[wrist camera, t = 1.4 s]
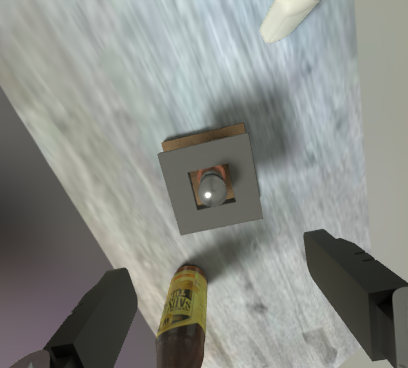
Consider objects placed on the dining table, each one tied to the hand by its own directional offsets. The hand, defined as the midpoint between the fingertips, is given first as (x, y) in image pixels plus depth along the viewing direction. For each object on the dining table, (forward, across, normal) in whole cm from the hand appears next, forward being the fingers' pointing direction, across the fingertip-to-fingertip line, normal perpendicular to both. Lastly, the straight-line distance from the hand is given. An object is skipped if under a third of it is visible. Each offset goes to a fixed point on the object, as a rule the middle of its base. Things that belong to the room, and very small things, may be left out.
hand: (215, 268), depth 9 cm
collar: (+16, 0, 0) cm, 16 cm away
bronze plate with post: (+24, 0, 0) cm, 24 cm away
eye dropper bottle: (+23, -13, -17) cm, 32 cm away
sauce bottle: (+24, +8, +18) cm, 31 cm away
